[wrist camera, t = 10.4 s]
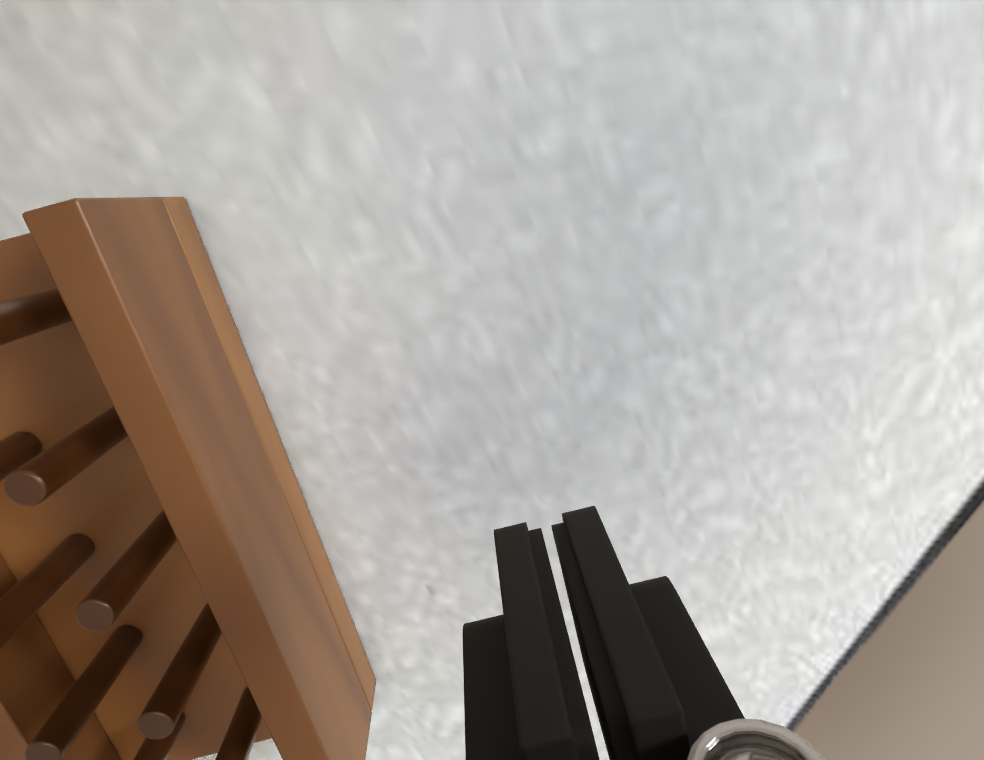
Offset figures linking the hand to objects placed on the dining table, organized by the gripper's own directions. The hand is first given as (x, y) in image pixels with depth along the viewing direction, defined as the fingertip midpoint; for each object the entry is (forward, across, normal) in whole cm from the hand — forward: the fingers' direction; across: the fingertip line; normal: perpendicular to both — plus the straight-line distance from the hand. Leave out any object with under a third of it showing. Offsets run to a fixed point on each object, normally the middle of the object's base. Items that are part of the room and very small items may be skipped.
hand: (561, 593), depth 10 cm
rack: (+10, +12, +1) cm, 16 cm away
